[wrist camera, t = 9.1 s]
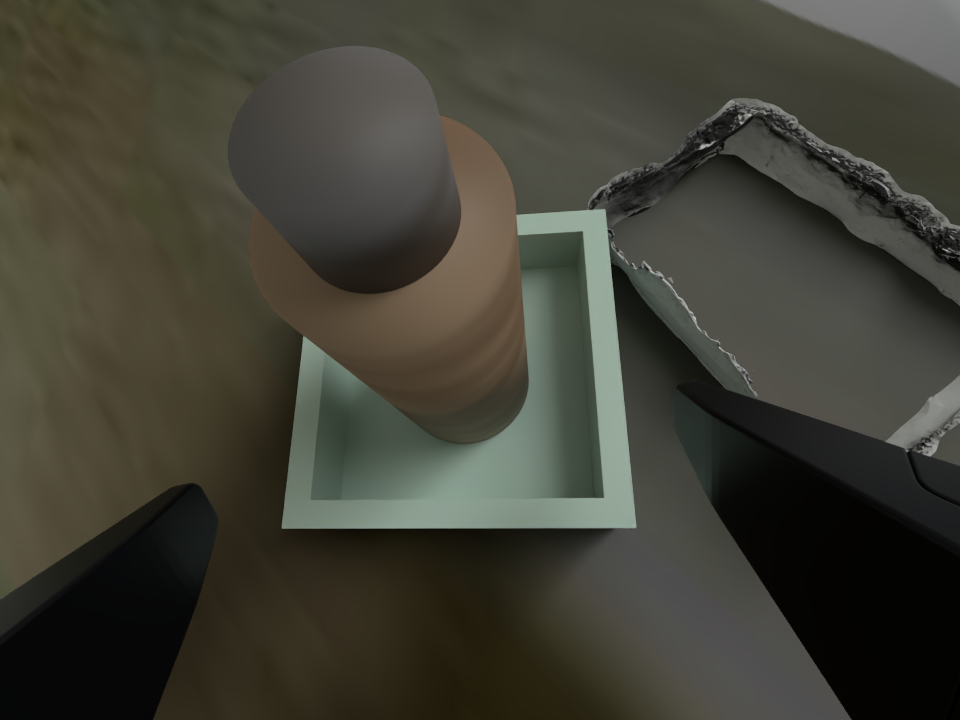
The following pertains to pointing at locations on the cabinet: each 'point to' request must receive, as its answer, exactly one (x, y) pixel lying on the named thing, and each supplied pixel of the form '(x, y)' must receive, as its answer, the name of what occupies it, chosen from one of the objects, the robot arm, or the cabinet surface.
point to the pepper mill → (387, 237)
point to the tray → (505, 457)
